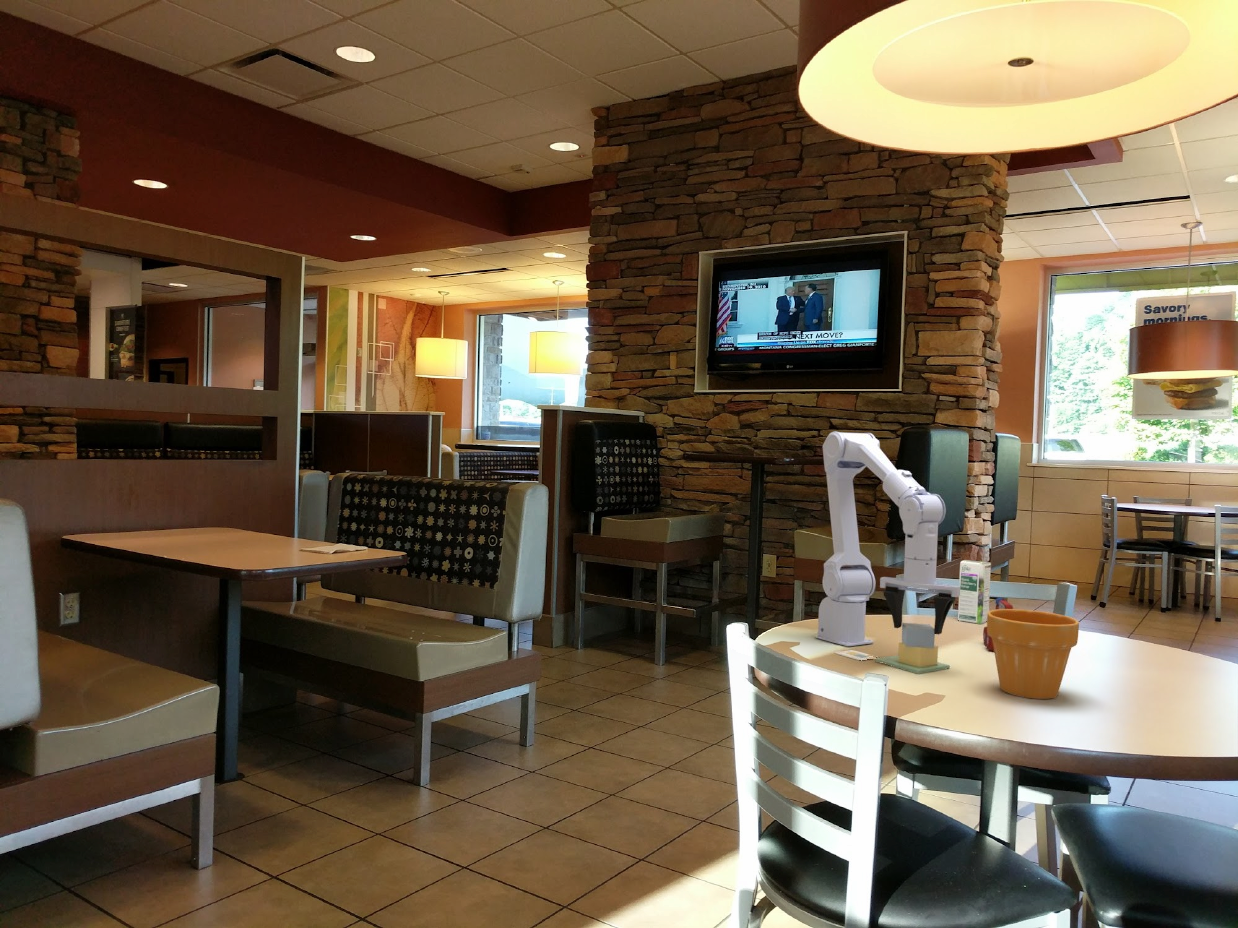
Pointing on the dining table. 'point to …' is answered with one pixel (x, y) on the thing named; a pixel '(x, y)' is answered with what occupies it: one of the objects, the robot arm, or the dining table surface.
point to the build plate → (894, 662)
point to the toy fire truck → (986, 638)
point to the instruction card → (854, 654)
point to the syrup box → (974, 591)
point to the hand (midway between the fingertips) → (917, 630)
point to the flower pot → (1031, 650)
